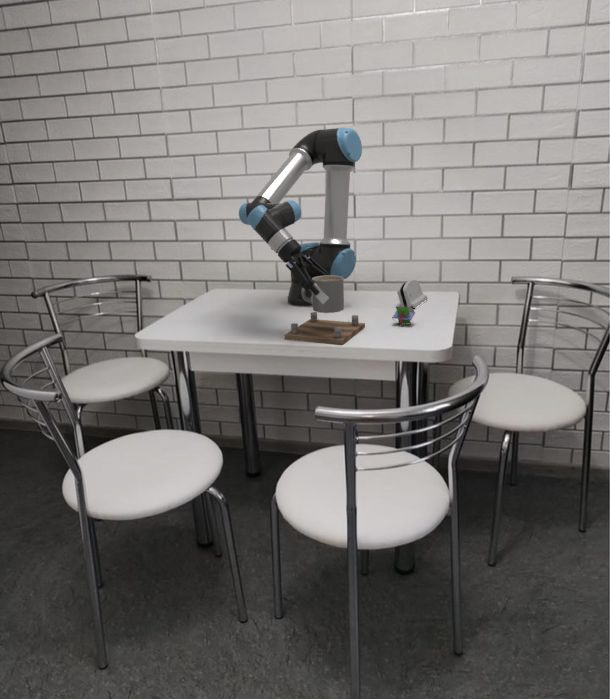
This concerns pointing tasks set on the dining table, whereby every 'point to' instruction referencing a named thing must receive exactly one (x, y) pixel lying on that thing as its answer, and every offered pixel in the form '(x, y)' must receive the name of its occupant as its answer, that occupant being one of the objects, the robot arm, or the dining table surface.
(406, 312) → the geometric puzzle
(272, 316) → the dining table surface
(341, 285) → the coffee mug
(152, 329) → the dining table surface
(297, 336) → the standoff board
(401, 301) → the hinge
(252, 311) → the dining table surface
